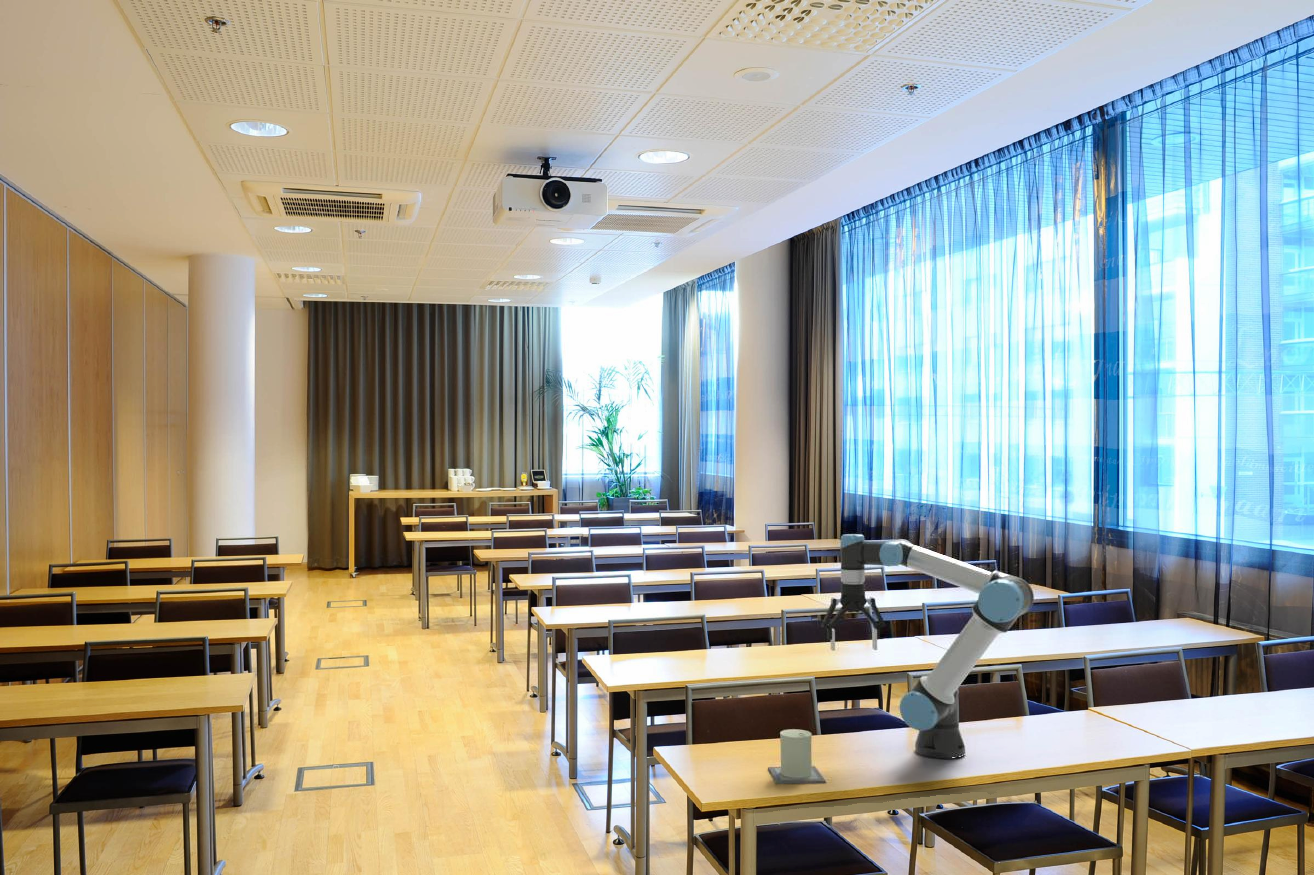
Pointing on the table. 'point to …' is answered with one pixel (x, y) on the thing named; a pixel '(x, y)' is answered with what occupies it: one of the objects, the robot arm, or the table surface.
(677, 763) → the table surface
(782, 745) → the can
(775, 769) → the coaster
